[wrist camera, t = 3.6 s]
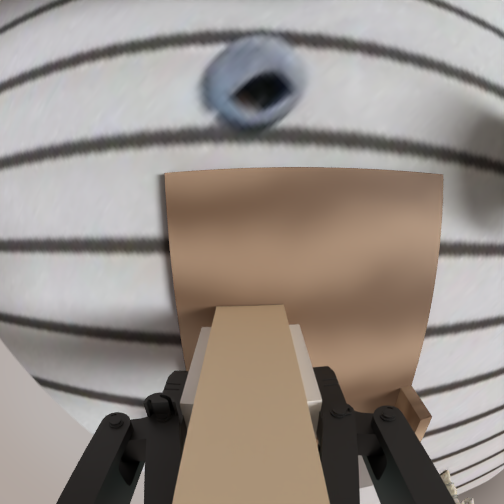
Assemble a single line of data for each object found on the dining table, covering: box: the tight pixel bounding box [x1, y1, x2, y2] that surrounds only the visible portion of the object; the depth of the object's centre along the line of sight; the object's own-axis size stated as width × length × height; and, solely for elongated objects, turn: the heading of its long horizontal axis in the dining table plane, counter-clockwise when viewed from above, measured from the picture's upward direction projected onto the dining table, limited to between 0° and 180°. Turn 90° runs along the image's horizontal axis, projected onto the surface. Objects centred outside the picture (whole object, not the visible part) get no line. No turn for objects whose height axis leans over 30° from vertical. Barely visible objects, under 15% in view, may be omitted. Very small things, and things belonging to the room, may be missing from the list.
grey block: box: [358, 455, 381, 504], centre depth 19 cm, size 5×5×6 cm
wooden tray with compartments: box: [165, 167, 443, 447], centre depth 18 cm, size 30×17×5 cm, turn 2°
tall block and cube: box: [172, 305, 330, 504], centre depth 14 cm, size 18×5×13 cm, turn 2°
